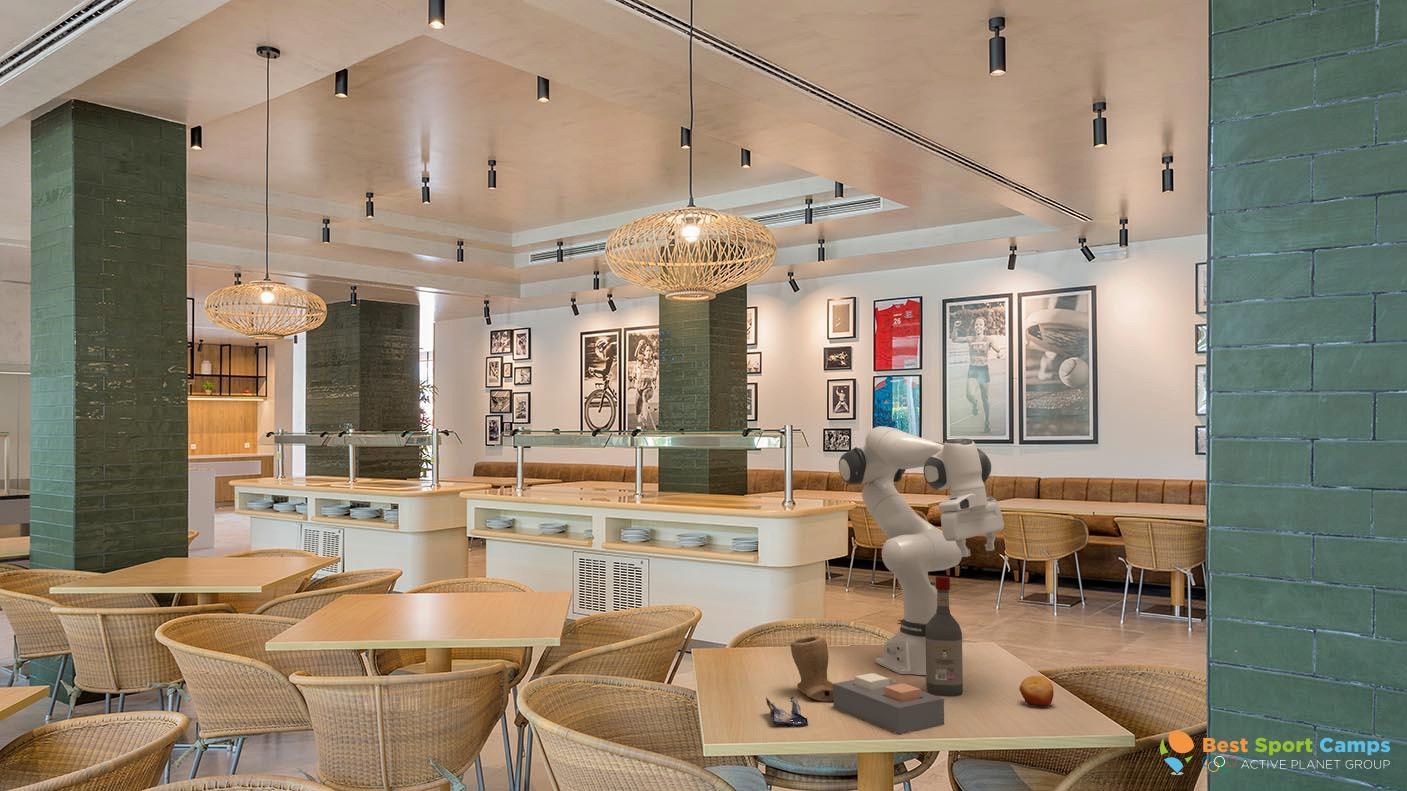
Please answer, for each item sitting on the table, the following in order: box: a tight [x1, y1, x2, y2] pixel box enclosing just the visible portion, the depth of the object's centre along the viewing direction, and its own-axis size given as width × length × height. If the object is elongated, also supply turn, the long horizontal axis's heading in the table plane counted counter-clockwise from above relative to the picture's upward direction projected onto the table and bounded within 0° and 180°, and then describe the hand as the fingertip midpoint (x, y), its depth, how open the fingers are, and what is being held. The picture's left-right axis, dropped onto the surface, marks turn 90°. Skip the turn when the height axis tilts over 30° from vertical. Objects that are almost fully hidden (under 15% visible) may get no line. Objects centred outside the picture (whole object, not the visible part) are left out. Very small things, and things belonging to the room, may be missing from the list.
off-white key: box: [854, 672, 890, 691], centre depth 235 cm, size 6×6×3 cm
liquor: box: [925, 575, 964, 697], centre depth 251 cm, size 9×9×30 cm
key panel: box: [832, 679, 945, 735], centre depth 230 cm, size 24×14×6 cm, turn 31°
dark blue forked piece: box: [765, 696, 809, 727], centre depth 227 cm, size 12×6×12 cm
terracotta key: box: [884, 682, 922, 702], centre depth 226 cm, size 6×6×3 cm
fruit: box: [1019, 675, 1055, 708], centre depth 239 cm, size 8×8×8 cm
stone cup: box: [790, 635, 834, 702], centre depth 248 cm, size 15×12×15 cm
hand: (978, 553), depth 245 cm, fingers open, 8 cm apart
